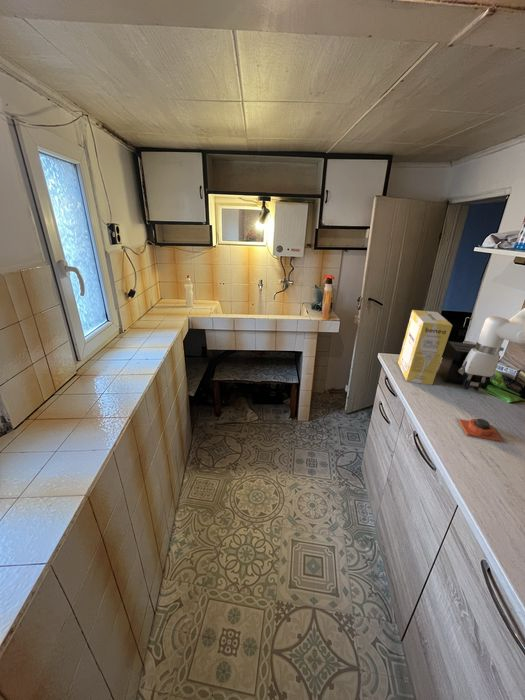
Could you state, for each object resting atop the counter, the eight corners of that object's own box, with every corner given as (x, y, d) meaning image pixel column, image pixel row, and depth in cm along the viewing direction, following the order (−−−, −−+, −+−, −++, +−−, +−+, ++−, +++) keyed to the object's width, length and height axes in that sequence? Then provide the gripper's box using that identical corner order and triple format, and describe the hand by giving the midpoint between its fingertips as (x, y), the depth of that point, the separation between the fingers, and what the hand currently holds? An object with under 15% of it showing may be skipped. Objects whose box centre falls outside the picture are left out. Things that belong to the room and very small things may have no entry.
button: (485, 424, 95) (487, 419, 94) (489, 430, 92) (491, 426, 91) (473, 421, 96) (475, 417, 95) (477, 428, 93) (479, 424, 92)
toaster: (476, 377, 130) (489, 346, 123) (486, 390, 120) (500, 356, 113) (437, 371, 134) (448, 340, 127) (444, 383, 124) (456, 350, 117)
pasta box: (397, 364, 140) (412, 309, 128) (420, 367, 138) (437, 312, 126) (405, 382, 124) (423, 322, 112) (431, 386, 122) (452, 325, 110)
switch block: (490, 427, 97) (493, 421, 96) (501, 443, 90) (504, 436, 89) (458, 421, 100) (460, 415, 99) (466, 436, 93) (469, 429, 92)
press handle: (472, 379, 120) (473, 375, 119) (477, 386, 115) (479, 382, 114) (464, 378, 121) (465, 374, 120) (469, 385, 115) (471, 381, 115)
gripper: (506, 347, 111) (489, 387, 118) (460, 341, 115) (446, 380, 122) (516, 355, 104) (497, 397, 112) (466, 349, 108) (451, 389, 116)
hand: (470, 388), depth 117 cm, fingers closed on press handle, 3 cm apart
